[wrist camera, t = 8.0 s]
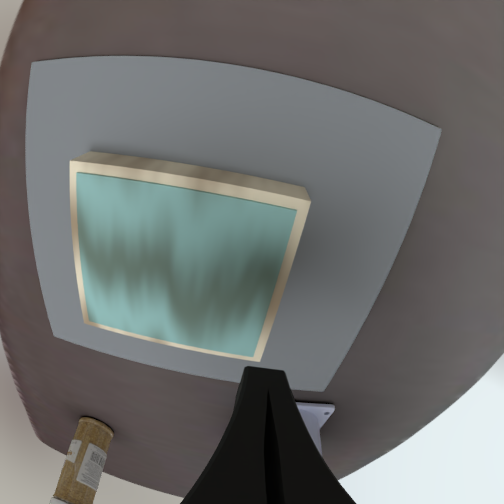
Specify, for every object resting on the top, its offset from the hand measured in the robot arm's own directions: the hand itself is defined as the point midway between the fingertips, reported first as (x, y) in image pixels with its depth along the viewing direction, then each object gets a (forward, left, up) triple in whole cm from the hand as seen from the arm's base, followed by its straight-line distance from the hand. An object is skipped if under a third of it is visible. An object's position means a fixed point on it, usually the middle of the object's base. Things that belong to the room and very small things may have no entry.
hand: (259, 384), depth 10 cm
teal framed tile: (0, -1, -6) cm, 7 cm away
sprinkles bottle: (-26, +14, -8) cm, 30 cm away
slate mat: (0, +4, -8) cm, 9 cm away
